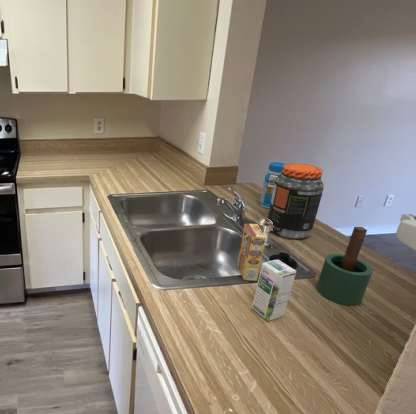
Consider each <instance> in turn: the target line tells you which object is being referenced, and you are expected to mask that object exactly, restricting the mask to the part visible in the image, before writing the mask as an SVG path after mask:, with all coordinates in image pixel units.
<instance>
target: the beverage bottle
mask: <svg viewBox="0 0 416 414" xmlns="http://www.w3.org/2000/svg"><path fill="white" fill-rule="evenodd" d="M285 164H286V163H283V162H278V161H272V162H269V164H268V172H267V173H266V174H265V175H264V180H263V183H262V185H263V186H262V190H261V194H260V195H261V196H260V199H259V205H260V206H261V207H263V208H264V209H265V208H266V209H269V208H270V204H271V199H272V194H273V189H274V184H275V180H276V178H277V177H278V176H279V175H280V174H281V173H282V169H283V166H284V165H285Z"/></svg>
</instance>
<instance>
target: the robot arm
mask: <svg viewBox="0 0 416 414" xmlns="http://www.w3.org/2000/svg"><path fill="white" fill-rule="evenodd" d="M399 221H400V223H399V225H398V227H397V229H396V232H395V233H396V234H395V236H396V238H397V240H398V241H400V242H401V243H403V244H404V245H406V246H407V247H408V248H410V249H411V250H413V251H415V252H416V215H413V213H403V214H401V217H400V219H399Z"/></svg>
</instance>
